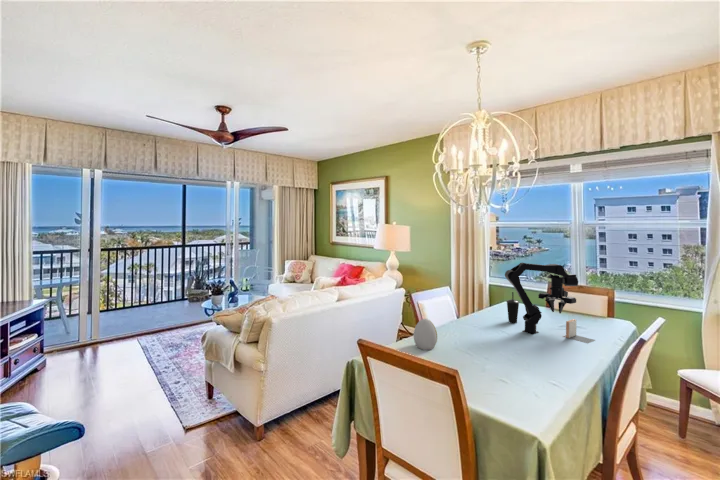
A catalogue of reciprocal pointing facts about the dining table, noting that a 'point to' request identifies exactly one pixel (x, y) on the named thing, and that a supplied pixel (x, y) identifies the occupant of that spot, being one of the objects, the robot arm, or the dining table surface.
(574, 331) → the tile
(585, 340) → the mat
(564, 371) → the dining table surface
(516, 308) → the drinking cup
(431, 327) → the decorative egg
